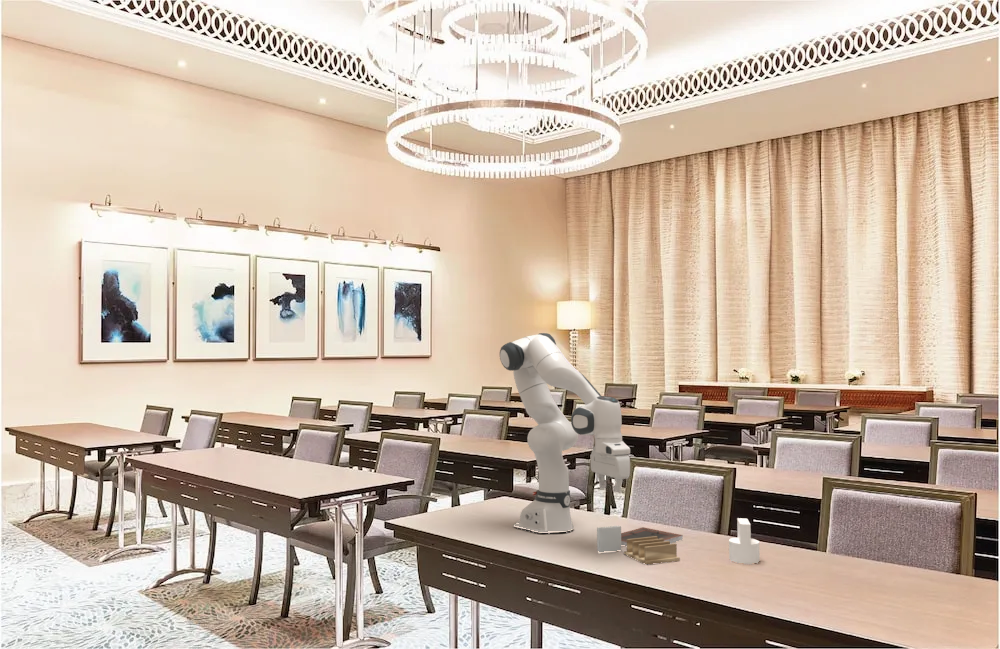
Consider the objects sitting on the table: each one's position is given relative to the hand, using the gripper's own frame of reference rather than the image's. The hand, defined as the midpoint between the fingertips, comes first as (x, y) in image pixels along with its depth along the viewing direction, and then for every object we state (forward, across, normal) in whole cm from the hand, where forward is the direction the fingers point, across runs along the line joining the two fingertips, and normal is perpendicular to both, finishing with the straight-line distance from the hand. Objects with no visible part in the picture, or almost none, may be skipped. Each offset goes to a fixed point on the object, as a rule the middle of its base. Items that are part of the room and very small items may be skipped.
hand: (609, 489), depth 246 cm
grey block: (+20, 0, -1) cm, 20 cm away
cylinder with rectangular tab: (+21, +24, +33) cm, 46 cm away
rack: (+20, +11, +8) cm, 24 cm away
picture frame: (+21, -9, +18) cm, 29 cm away
